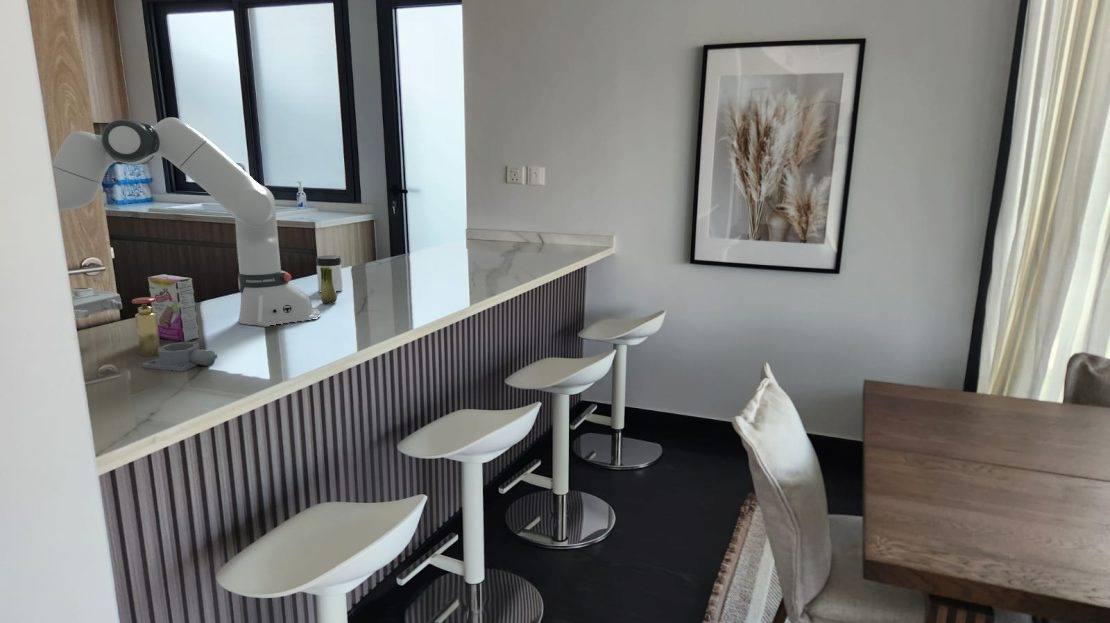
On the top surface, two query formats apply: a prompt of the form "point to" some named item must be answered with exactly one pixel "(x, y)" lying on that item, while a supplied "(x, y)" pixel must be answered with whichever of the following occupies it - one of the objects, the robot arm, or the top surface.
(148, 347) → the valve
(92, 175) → the robot arm
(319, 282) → the jar
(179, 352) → the fitting
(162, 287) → the candy bar box
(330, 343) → the top surface
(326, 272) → the fennel bulb
